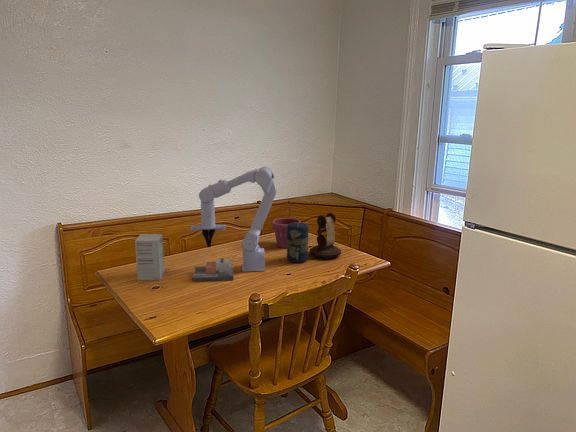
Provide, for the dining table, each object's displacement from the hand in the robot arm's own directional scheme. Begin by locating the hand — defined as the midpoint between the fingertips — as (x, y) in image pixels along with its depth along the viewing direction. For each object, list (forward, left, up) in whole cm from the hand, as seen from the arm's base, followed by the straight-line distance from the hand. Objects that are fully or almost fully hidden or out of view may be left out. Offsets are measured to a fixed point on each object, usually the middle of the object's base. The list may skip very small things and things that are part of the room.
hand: (209, 246), depth 192 cm
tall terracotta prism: (-1, +11, -8) cm, 14 cm away
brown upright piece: (-53, -12, -10) cm, 55 cm away
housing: (-6, +11, -8) cm, 15 cm away
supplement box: (+23, +9, -10) cm, 26 cm away
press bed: (-2, +11, -9) cm, 15 cm away
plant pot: (-36, -28, -10) cm, 47 cm away
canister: (-39, -6, -10) cm, 41 cm away
